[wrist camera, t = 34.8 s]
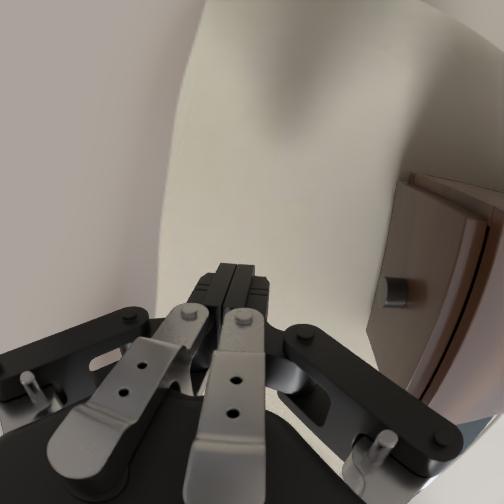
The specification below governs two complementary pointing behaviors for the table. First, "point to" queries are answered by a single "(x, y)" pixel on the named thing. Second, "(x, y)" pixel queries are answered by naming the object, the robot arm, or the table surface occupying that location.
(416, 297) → the drawer
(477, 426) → the mat
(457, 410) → the cabinet
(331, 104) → the table surface
